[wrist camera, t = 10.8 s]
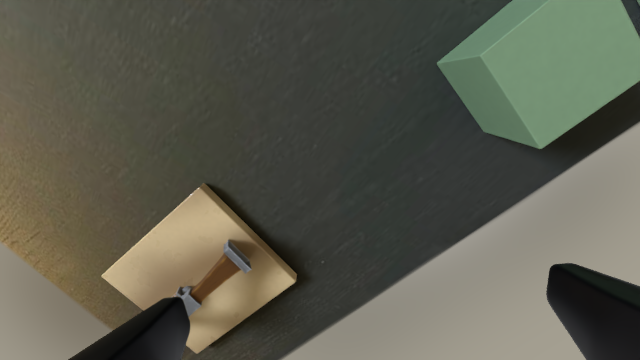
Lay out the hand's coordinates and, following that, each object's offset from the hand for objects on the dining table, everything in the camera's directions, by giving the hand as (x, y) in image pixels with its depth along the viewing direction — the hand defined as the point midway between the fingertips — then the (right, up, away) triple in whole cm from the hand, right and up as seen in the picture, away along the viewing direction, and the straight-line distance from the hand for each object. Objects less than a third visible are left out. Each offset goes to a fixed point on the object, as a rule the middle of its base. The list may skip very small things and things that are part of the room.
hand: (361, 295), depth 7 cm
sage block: (+8, +8, +8) cm, 14 cm away
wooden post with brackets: (-8, -3, +11) cm, 14 cm away
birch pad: (-8, -3, +12) cm, 15 cm away
